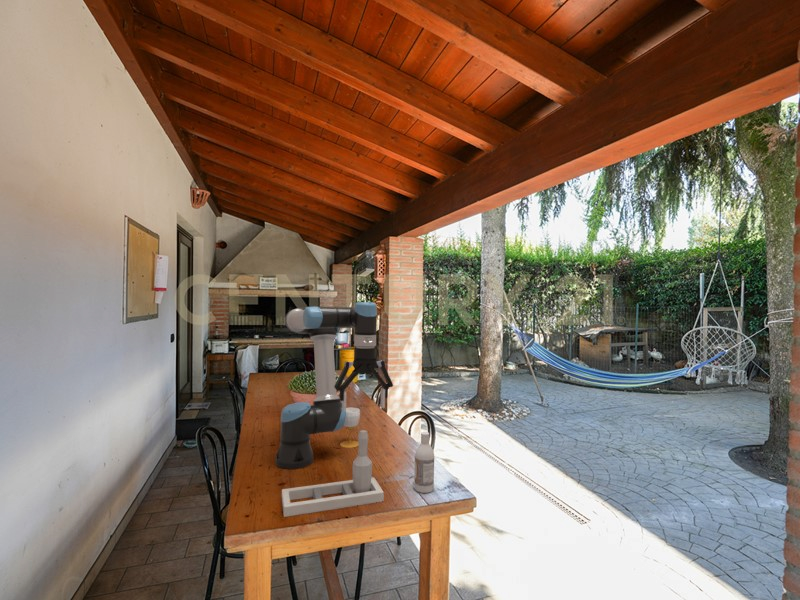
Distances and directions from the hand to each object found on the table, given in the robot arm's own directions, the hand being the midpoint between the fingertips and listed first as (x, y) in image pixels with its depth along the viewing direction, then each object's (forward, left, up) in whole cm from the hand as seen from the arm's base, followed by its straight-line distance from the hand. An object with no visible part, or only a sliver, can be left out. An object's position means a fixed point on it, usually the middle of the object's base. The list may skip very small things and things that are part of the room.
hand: (363, 408), depth 135 cm
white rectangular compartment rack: (-8, -6, -30) cm, 31 cm away
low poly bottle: (0, 0, -30) cm, 30 cm away
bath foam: (+19, +12, -30) cm, 37 cm away
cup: (-24, +43, -30) cm, 57 cm away
